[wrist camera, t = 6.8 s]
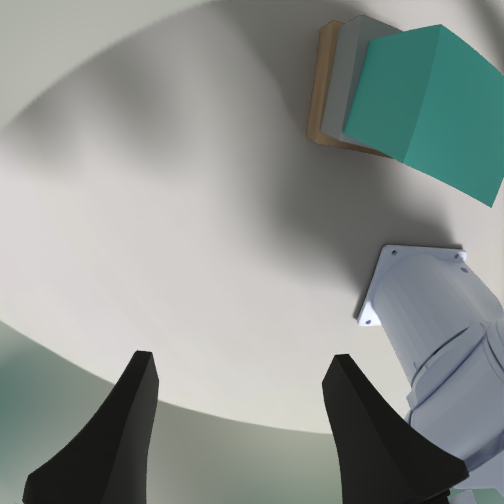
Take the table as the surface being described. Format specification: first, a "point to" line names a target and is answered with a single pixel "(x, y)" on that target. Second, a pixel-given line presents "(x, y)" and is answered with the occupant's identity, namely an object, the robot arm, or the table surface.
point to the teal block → (433, 109)
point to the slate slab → (349, 72)
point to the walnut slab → (321, 90)
